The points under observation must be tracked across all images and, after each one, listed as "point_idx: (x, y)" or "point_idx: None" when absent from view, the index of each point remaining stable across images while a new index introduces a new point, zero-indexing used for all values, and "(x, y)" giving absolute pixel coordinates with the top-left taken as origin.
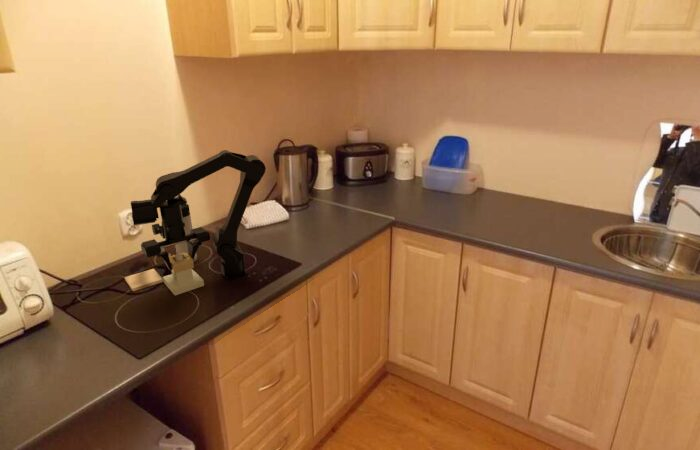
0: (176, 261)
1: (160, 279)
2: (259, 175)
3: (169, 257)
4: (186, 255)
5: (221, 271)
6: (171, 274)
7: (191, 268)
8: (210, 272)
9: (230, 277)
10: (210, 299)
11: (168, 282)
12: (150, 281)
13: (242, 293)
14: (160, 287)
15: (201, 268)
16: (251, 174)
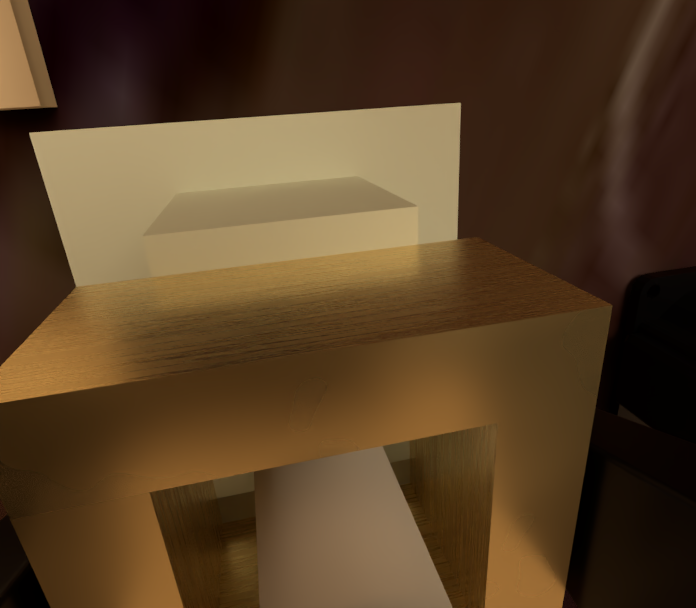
0: (258, 548)
1: (5, 97)
2: None
3: (95, 457)
4: (530, 514)
5: (645, 356)
6: (173, 133)
7: (459, 118)
8: (577, 202)
9: (634, 419)
10: None
11: None
12: None
13: (568, 594)
14: (16, 237)
15: (559, 36)
16: None
